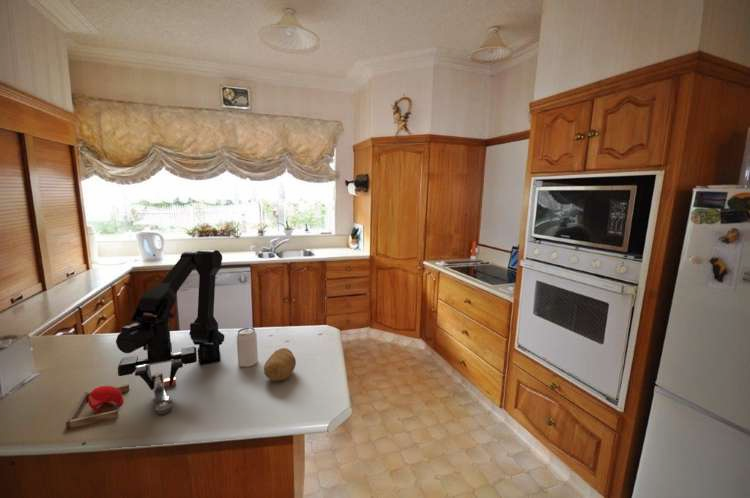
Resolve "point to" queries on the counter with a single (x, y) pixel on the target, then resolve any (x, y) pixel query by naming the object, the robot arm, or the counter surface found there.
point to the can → (247, 347)
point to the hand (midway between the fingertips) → (161, 387)
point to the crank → (160, 394)
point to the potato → (280, 365)
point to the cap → (104, 396)
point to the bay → (76, 422)
